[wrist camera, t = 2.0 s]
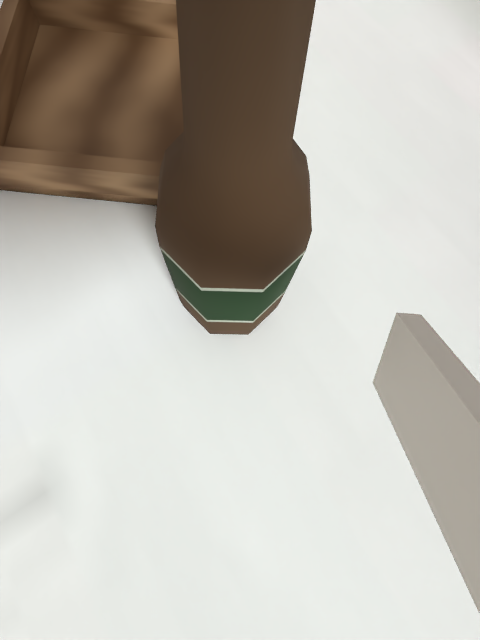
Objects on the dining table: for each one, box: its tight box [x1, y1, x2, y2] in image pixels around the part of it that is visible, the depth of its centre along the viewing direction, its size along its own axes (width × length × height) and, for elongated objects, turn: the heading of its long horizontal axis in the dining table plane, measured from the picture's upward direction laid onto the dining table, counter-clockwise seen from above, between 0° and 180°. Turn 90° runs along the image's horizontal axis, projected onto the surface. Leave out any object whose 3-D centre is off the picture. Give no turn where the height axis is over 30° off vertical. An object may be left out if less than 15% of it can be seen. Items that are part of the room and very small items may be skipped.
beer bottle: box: [155, 0, 316, 335], centre depth 17 cm, size 8×8×24 cm
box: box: [0, 0, 184, 205], centre depth 31 cm, size 18×18×4 cm
